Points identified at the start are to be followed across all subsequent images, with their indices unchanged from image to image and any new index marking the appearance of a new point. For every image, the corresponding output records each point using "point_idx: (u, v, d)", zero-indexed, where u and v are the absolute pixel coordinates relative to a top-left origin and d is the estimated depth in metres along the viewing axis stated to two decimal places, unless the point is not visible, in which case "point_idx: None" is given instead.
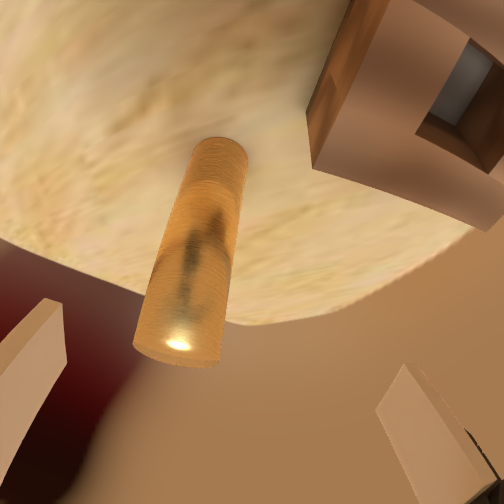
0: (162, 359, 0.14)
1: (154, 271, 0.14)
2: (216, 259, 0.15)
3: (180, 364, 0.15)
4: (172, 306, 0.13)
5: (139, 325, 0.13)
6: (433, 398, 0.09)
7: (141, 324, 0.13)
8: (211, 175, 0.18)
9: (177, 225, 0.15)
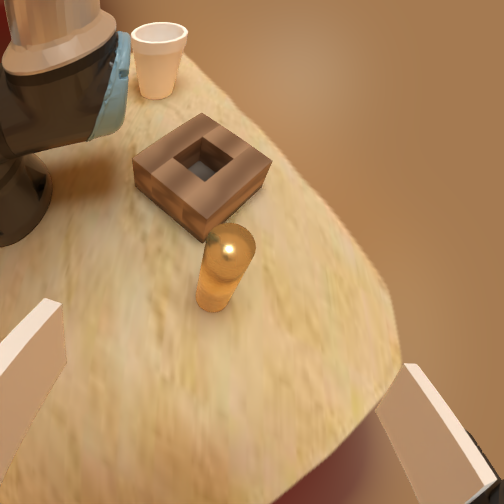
0: (239, 261, 0.24)
1: (203, 268, 0.27)
2: None
3: (248, 255, 0.25)
4: None
5: (206, 255, 0.25)
6: (433, 398, 0.09)
7: (206, 253, 0.25)
8: None
9: (200, 270, 0.30)
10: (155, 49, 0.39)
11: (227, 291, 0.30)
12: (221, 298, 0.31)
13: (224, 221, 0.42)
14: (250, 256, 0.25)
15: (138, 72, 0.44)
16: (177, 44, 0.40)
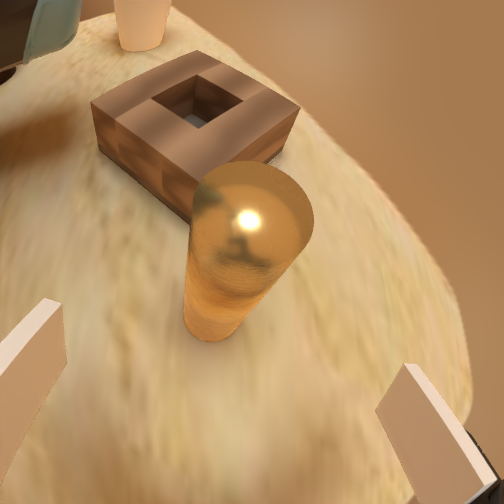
0: (278, 247, 0.09)
1: (190, 268, 0.12)
2: None
3: (299, 233, 0.10)
4: None
5: (194, 235, 0.10)
6: (433, 398, 0.09)
7: (193, 229, 0.10)
8: None
9: None
10: None
11: (240, 314, 0.15)
12: (228, 325, 0.16)
13: None
14: (304, 236, 0.10)
15: (117, 17, 0.29)
16: None
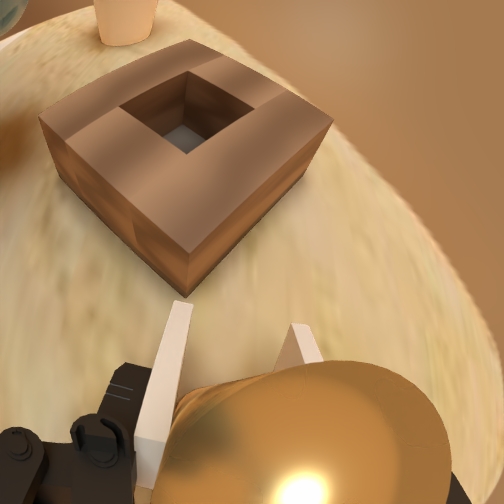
0: None
1: None
2: (220, 384, 0.07)
3: None
4: (168, 442, 0.04)
5: None
6: (309, 356, 0.10)
7: None
8: (179, 405, 0.11)
9: None
10: None
11: None
12: None
13: (233, 246, 0.19)
14: None
15: (95, 4, 0.22)
16: None
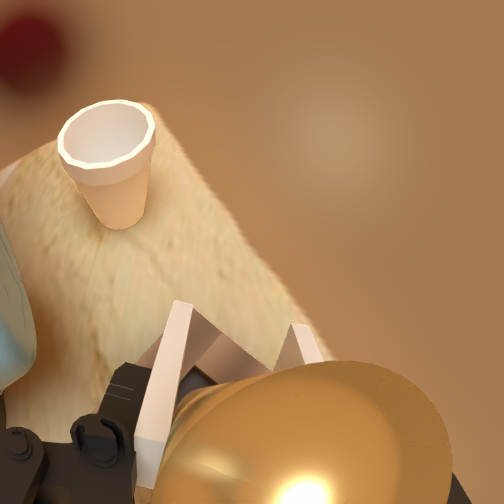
0: None
1: None
2: (220, 385, 0.07)
3: None
4: (168, 443, 0.04)
5: None
6: (309, 356, 0.10)
7: None
8: (179, 405, 0.11)
9: None
10: (97, 177, 0.23)
11: None
12: None
13: None
14: None
15: (84, 196, 0.29)
16: (136, 161, 0.25)
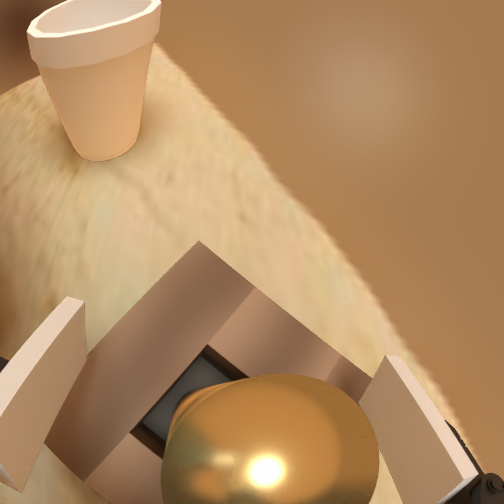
0: None
1: None
2: (211, 386, 0.09)
3: (353, 502, 0.04)
4: (172, 427, 0.05)
5: None
6: (414, 390, 0.09)
7: None
8: (178, 403, 0.13)
9: None
10: (72, 52, 0.13)
11: None
12: None
13: None
14: None
15: (56, 107, 0.18)
16: (130, 32, 0.14)
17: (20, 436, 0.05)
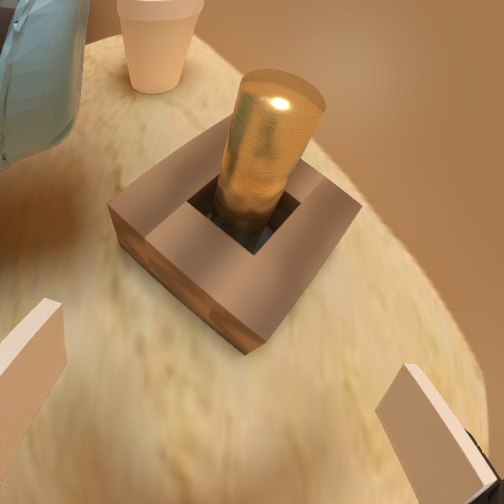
0: (301, 112, 0.12)
1: (230, 148, 0.15)
2: None
3: (316, 108, 0.13)
4: None
5: (241, 106, 0.13)
6: (433, 398, 0.09)
7: (239, 103, 0.13)
8: None
9: None
10: (154, 11, 0.21)
11: (266, 201, 0.17)
12: (253, 221, 0.19)
13: None
14: (319, 110, 0.13)
15: (127, 51, 0.27)
16: (190, 5, 0.22)
17: None
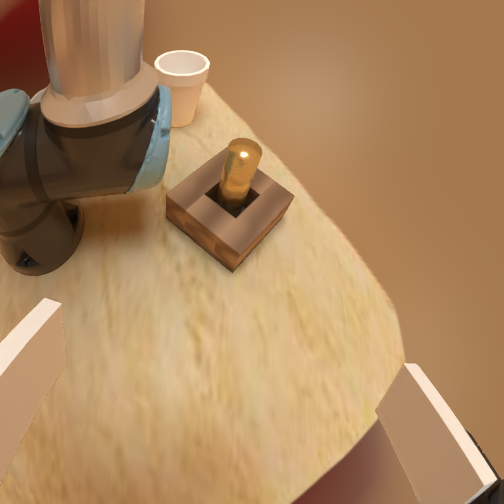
0: (251, 158, 0.34)
1: (224, 171, 0.37)
2: None
3: (257, 156, 0.35)
4: None
5: (228, 156, 0.35)
6: (433, 398, 0.09)
7: (227, 155, 0.35)
8: None
9: None
10: (180, 81, 0.43)
11: (240, 193, 0.40)
12: (235, 203, 0.41)
13: (251, 251, 0.46)
14: (258, 157, 0.35)
15: None
16: (201, 76, 0.44)
17: None
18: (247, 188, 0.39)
